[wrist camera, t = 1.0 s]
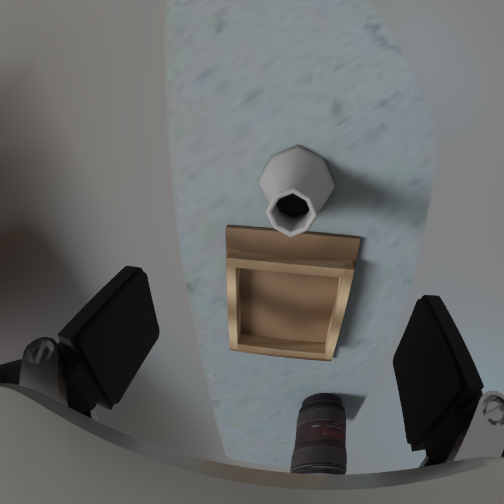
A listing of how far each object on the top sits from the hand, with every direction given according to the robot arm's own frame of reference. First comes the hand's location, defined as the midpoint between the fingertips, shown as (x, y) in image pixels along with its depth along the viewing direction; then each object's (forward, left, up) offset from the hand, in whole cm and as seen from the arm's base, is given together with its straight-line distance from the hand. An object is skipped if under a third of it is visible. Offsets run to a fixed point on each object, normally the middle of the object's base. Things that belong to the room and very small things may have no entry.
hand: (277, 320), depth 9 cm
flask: (0, 0, -21) cm, 21 cm away
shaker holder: (+14, 0, -20) cm, 24 cm away
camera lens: (+35, +8, -20) cm, 41 cm away
